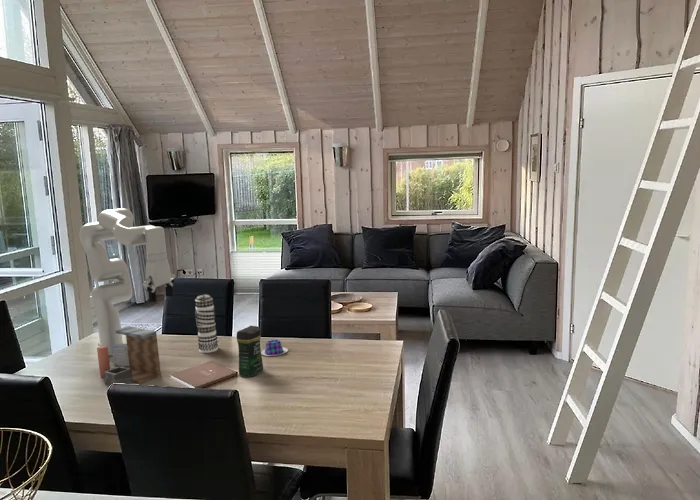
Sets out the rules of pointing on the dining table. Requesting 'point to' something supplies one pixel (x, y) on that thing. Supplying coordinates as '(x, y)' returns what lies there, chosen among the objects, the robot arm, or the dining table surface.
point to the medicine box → (120, 355)
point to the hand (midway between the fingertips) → (161, 298)
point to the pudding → (273, 348)
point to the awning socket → (137, 358)
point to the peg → (103, 360)
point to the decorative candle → (206, 324)
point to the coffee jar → (249, 351)
